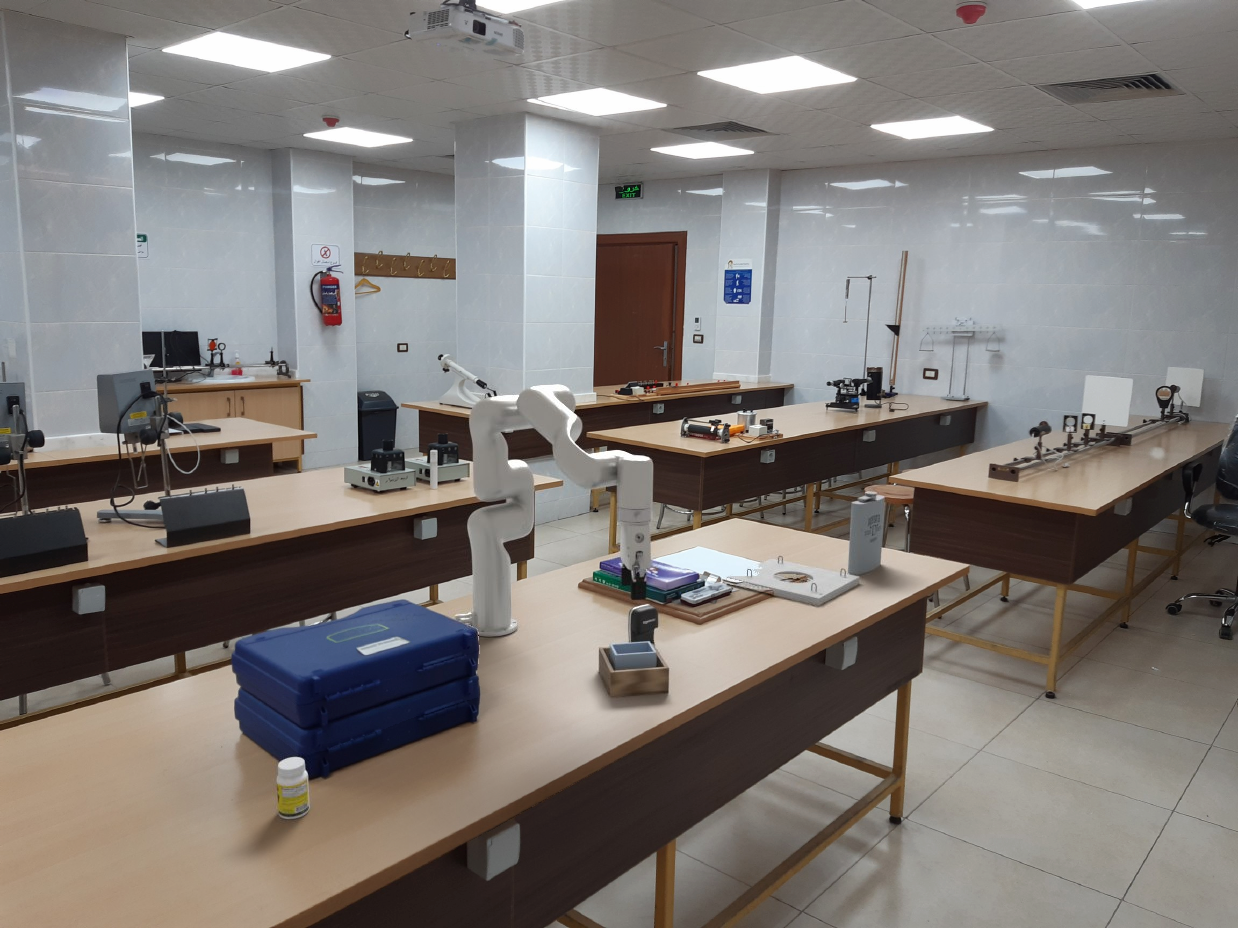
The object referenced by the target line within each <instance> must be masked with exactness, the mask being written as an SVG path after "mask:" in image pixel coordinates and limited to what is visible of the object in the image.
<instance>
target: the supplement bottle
mask: <svg viewBox="0 0 1238 928" xmlns="http://www.w3.org/2000/svg"><path fill="white" fill-rule="evenodd" d="M277 773H278V775H277V776H276V779H275V780H276V795H277V796H276V797H277V811H278V816H279V817H280V818H282V819H284V820H296V819H299V818H301V817H304V816H305V815H306V814H308V813H309V811H310V807H311V804H310V788H309V787H310V785H309V774H308V771H307V770H306V763H305V759H304V758H302V757H300V756H299V757H298V756H292V757H290V756H289V757H287V758H285V759H284V758H283V760H282V759H281V760H280V761H279V762H278V765H277Z"/></svg>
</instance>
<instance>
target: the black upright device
mask: <svg viewBox="0 0 1238 928" xmlns="http://www.w3.org/2000/svg"><path fill="white" fill-rule="evenodd" d="M658 611H659V610H658V609H657V608H656V607H655V606H652V605H650V604H648V603H647V604H642V605H637V606H634V607H632V608H631V609H630V610H629V612H628V622H627V623H628V624H627V627H628V628H627V631H628V635H627V636H628V643H632V642H647V641H650V643H651V644H654V646H655V647H656V644H655V629H658V628H659V612H658Z"/></svg>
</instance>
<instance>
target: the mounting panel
mask: <svg viewBox="0 0 1238 928" xmlns="http://www.w3.org/2000/svg"><path fill="white" fill-rule="evenodd" d="M780 558H781V560H780ZM758 565H759V566H758V567H759V568H760V567H762V569H754V570H753V569H752V570H753V571H755V573H756V572H757V574H758V572H759V574H758V575H757V576H753V575H752V570H751V569H748V568H746V569H747V576H731V575H728V576H726V579H727V578H730V579H735V580H739V581H743V582H746V583H749V584H752V585H755V586H761V587H765V588H769V589H772V590H773V591H774V595H773V596H776V597H779V598H784V599H789V600H792V601H798V602H801V603H806V604H808V605H809V604H810V605H813V606H816V607H817V606H818V607H819V606H821V605H822V604H825V603H826V602H828V601H831V599H834V598H836V597H837V596H839V595H841V594H843V593H844V592H847V591H848V590H850V589H852V588H854V587H857V586H858V585H859V584H860V579H861V577H860V576H859V575H854V574H850V573H847V571H846V569H845V568H841V569H840V572H837V571H833V570H829V569H825V568H819V567H814V566H809V565H804V564H799V563H794V562H790V561H786V560H784V557H783V556H782V555H779V556H778V557H777V559H775V558H770V559H769V558H768V559H767V560H765V561H763V562H760V563H758ZM748 570H750V571H751V576H748ZM842 571H844V572H842ZM777 574H796V575H805V576H806V577H808V578H807V579H808V580H807V582H805V581H804V582H790V581H783V580H778V579H776V578H775V577H774V575H777Z"/></svg>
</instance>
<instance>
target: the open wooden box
mask: <svg viewBox="0 0 1238 928" xmlns="http://www.w3.org/2000/svg"><path fill="white" fill-rule="evenodd" d="M654 644H655V643H654ZM654 644H652V646H653V648H654V649H655V651H656V652H657V661H656V668H644V669H630V670H617V671H614V670H613V668H612V666H611V664H610V662H609V657H610V646H601V647H598V672H599V674H600V677H601V680H602V681H603V683H604V686H605V688H606V690H607V692H608V694H609V697H610V698H617V697H618V698H619V697H629V696H630V697H631V696H643V695H655V694H656V695H657V694H666V693H667V694H668V693H669V691H670V689H669V688H670V686H669V685H670V667H669V666H668V664H667V663H666V660H665V659H664V658H663V656H662V655H661V653H660V651H659V650H658V649H657V647H656V645H655V646H654Z"/></svg>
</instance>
